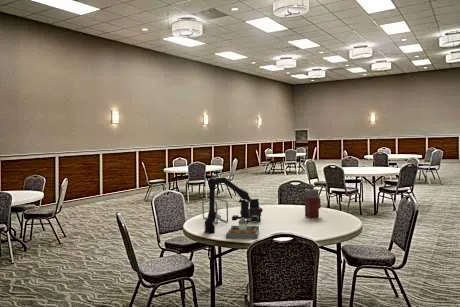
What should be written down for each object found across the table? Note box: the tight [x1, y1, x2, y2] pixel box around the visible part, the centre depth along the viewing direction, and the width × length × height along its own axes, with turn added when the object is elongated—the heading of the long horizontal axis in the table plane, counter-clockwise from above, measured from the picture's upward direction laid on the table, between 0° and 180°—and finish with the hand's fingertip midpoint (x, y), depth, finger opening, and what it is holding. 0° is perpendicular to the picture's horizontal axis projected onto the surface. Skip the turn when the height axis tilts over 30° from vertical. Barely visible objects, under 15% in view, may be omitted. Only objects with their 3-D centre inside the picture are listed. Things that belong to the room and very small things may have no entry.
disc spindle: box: [237, 220, 248, 231], centre depth 277 cm, size 6×6×9 cm
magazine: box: [249, 206, 264, 223], centre depth 325 cm, size 4×13×15 cm, turn 47°
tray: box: [228, 225, 260, 234], centre depth 280 cm, size 20×16×4 cm
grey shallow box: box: [225, 228, 260, 240], centre depth 277 cm, size 21×14×3 cm, turn 80°
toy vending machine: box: [304, 183, 322, 219], centre depth 337 cm, size 9×11×28 cm
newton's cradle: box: [201, 197, 229, 225], centre depth 333 cm, size 30×10×18 cm, turn 26°
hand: (245, 229), depth 290 cm, fingers closed, pressing on tray
